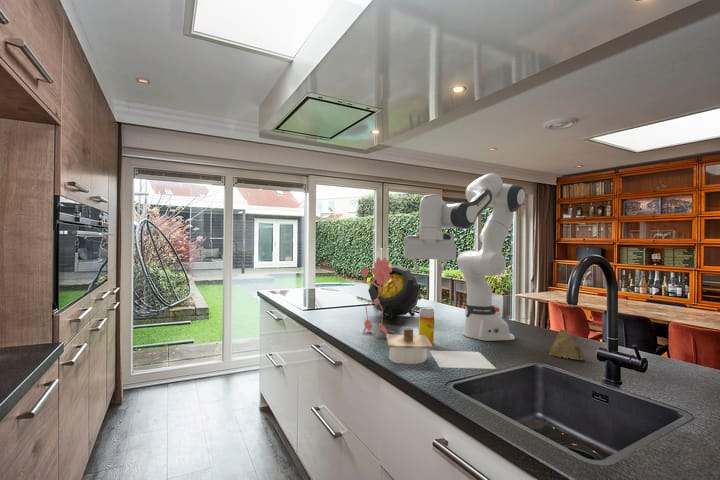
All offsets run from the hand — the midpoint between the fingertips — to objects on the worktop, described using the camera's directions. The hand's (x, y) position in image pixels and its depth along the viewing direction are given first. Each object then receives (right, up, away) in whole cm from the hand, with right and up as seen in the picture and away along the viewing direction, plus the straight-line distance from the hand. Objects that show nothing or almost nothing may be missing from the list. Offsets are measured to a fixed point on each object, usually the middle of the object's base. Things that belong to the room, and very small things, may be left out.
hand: (429, 270), depth 144 cm
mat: (+9, -31, -11) cm, 34 cm away
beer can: (0, -31, +9) cm, 33 cm away
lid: (-10, -25, -11) cm, 29 cm away
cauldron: (-7, -32, +65) cm, 73 cm away
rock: (+51, -33, -5) cm, 61 cm away
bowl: (-10, -31, -11) cm, 34 cm away
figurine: (-17, -31, +25) cm, 43 cm away
